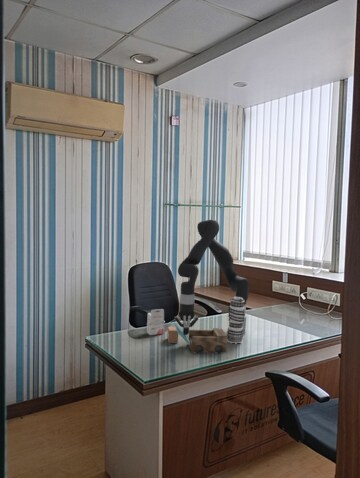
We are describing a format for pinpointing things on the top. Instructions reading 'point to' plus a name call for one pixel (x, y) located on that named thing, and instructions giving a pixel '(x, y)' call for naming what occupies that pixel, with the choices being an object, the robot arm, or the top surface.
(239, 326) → the patterned ribbed cylinder
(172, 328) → the tapered tan wedge
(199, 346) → the truck bed
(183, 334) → the tailgate
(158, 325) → the ink cartridge box
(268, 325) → the top surface
